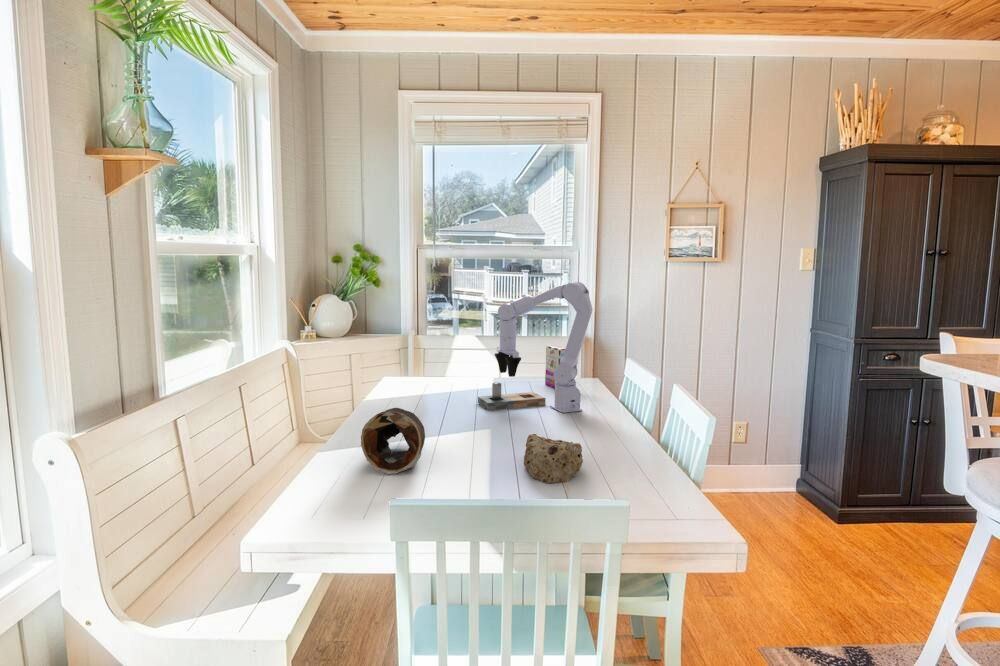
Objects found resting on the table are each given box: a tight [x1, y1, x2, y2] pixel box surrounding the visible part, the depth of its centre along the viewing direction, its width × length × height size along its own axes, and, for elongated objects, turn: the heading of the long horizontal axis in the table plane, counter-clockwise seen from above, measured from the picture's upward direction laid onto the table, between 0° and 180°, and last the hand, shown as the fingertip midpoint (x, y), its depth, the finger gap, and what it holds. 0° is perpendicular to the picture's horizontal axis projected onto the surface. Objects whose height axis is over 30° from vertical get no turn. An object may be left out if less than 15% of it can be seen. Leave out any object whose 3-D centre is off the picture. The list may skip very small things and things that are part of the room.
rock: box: [523, 433, 584, 484], centre depth 148 cm, size 21×14×10 cm
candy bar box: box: [544, 345, 566, 389], centre depth 242 cm, size 11×5×16 cm, turn 25°
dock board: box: [477, 391, 546, 411], centre depth 213 cm, size 10×22×2 cm, turn 113°
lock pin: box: [491, 382, 502, 401], centre depth 211 cm, size 3×3×8 cm
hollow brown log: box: [360, 407, 426, 475], centre depth 155 cm, size 15×15×25 cm
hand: (507, 374), depth 214 cm, fingers open, 7 cm apart
